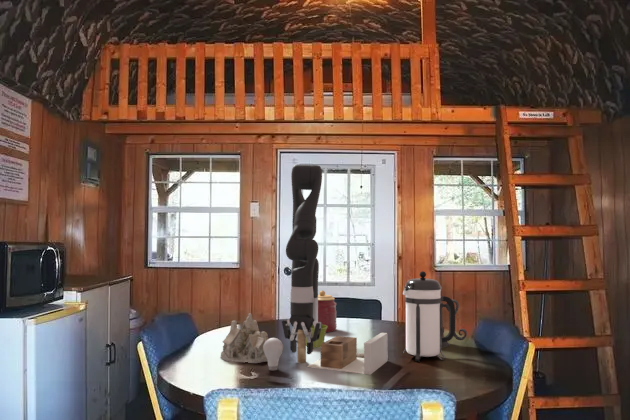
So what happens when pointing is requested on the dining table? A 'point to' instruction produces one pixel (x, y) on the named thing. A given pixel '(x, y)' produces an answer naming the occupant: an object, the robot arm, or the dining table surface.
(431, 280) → the coffee press
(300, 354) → the dowel
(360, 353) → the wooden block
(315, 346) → the plant pot
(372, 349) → the l-shaped bookend
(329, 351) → the wooden square-hole block
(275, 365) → the lightbulb
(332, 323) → the canister
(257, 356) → the ceramic cottage
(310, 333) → the robot arm
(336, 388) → the dining table surface
